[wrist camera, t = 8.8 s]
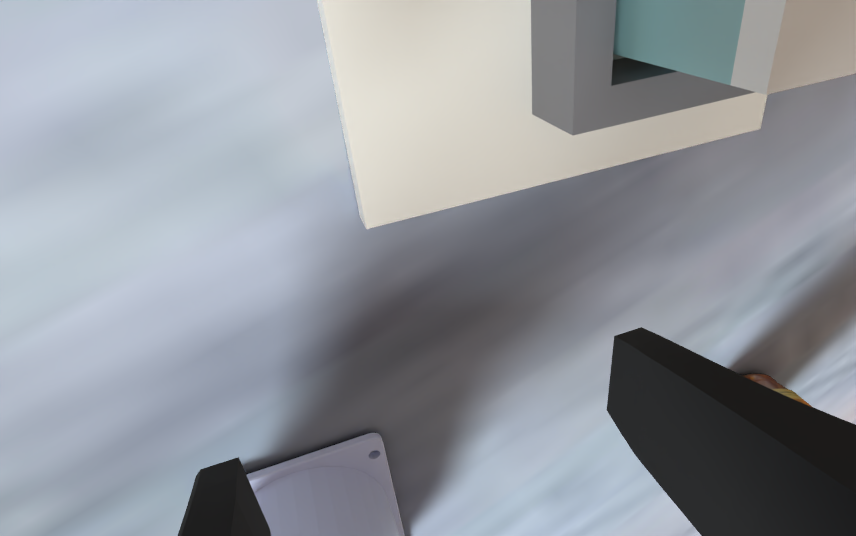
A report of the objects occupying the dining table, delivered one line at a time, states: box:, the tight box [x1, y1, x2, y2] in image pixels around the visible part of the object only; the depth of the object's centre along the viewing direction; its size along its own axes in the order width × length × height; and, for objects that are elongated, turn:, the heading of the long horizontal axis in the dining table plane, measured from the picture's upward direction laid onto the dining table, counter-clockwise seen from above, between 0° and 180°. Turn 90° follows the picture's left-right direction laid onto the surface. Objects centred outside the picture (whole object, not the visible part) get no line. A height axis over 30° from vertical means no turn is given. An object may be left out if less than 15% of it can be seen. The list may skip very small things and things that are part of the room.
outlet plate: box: [317, 0, 768, 229], centre depth 16 cm, size 11×16×4 cm
